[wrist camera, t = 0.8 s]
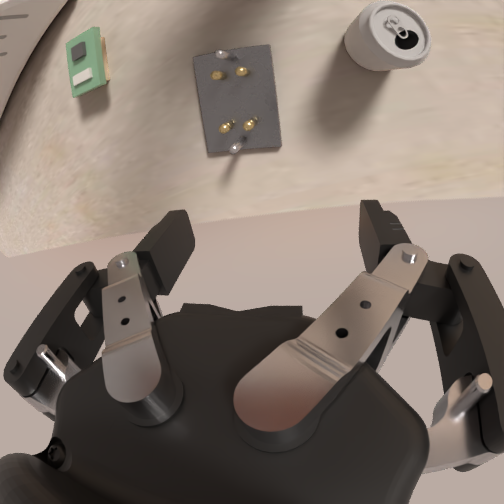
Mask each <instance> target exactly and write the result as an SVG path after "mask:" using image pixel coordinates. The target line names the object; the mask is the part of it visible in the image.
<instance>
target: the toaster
mask: <svg viewBox="0 0 504 504" xmlns="http://www.w3.org/2000/svg"><path fill="white" fill-rule="evenodd" d="M67 1H68V0H0V119H1V116H2V113H3V111H4V108H5V106H6V103H7V101H8V99H9V96H10V94H11V92H12V90H13V88H14V85H15V83H16V81H17V79H18V77H19V75H20V73H21V71H22V69H23V68H24V66H25V64H26V62H27V60H28V58H29V57H30V55H31V53H32V51H33V50H34V48H35V46H36V45H37V43H38V42H39V40H40V38H41V37H42V35H43V34H44V32H45V31H46V29H47V28H48V26H49V25H50V24H51V22H52V21H53V19H54V18H55V17H56V15H57V14H58V13H59V11H60V10H61V9H62V7H63V6H64V5H65V3H66V2H67Z"/></svg>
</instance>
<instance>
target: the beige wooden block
mask: <svg viewBox="0 0 504 504" xmlns="http://www.w3.org/2000/svg"><path fill="white" fill-rule="evenodd" d="M100 39H101V48H102V56H103V63H104V70H105V76H106V81H108V80H110V76H109V69H108V62H107V55H106V47H105V38H104V37H100Z"/></svg>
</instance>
